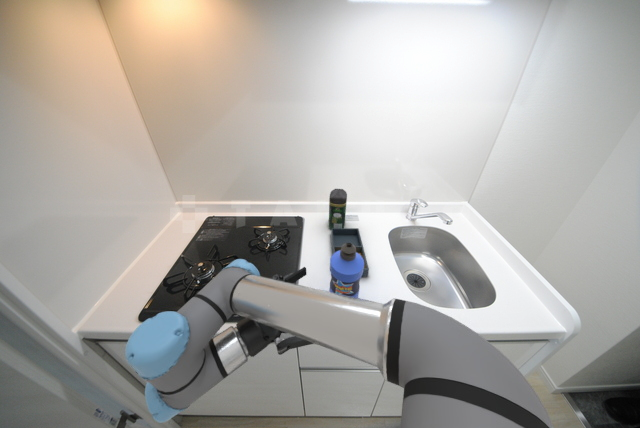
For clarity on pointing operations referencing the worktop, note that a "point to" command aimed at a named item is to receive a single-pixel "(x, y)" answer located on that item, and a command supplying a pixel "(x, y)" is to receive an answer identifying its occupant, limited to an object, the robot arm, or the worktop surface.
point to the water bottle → (346, 271)
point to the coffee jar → (337, 208)
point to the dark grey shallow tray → (349, 236)
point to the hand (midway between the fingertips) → (321, 286)
